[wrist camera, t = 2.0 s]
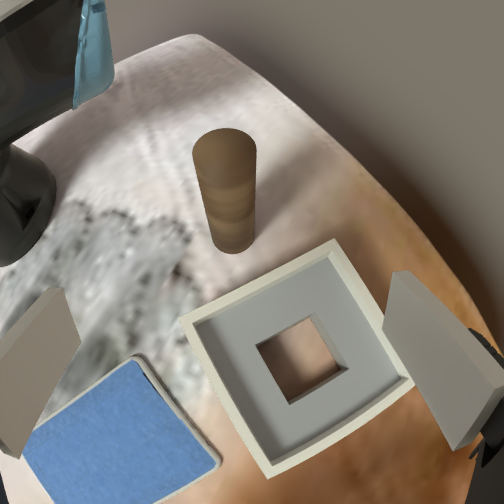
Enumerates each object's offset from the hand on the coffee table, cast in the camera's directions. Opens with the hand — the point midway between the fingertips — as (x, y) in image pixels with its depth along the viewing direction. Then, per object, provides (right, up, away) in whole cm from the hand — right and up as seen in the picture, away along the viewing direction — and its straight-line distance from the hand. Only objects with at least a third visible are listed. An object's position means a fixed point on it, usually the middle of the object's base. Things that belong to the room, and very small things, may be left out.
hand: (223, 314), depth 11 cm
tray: (+5, -7, +14) cm, 16 cm away
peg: (-1, +4, +18) cm, 19 cm away
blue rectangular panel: (-13, -17, +10) cm, 23 cm away
